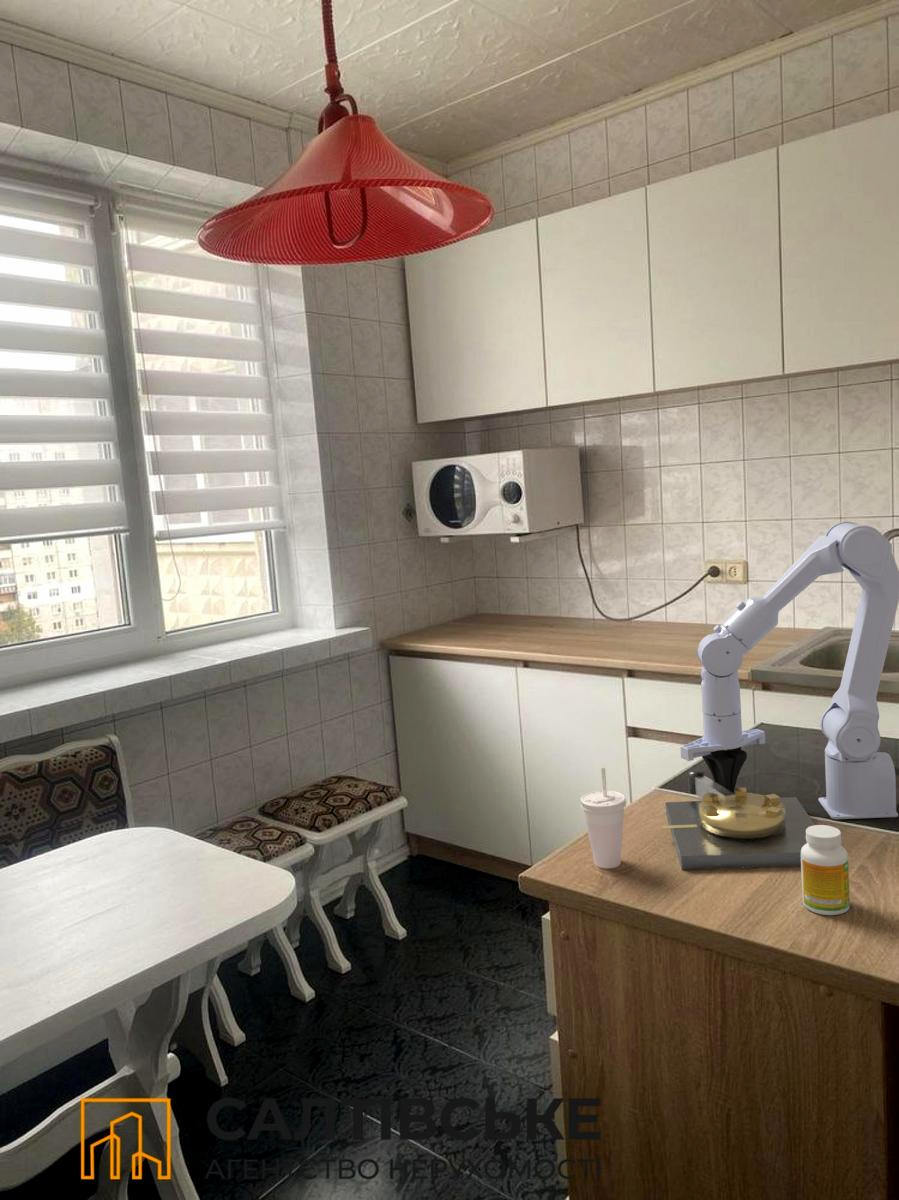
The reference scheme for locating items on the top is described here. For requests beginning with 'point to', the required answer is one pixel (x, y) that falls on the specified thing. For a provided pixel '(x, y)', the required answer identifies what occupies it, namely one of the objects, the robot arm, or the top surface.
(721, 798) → the brass crank disc
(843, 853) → the supplement bottle
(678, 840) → the plate
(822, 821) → the top surface
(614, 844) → the smoothie
